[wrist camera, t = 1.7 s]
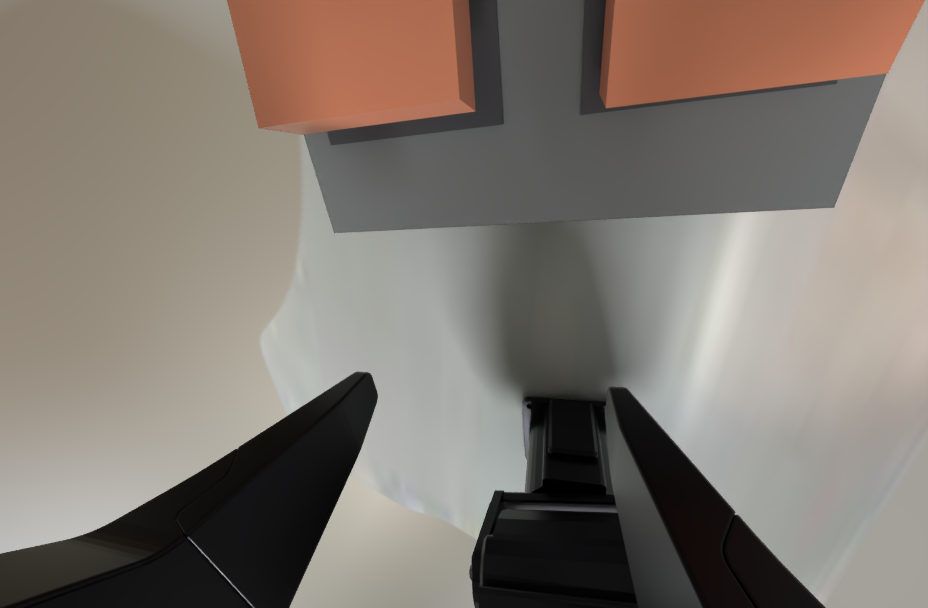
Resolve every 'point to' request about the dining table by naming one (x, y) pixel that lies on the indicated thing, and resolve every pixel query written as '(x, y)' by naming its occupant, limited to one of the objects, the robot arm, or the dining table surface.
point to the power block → (586, 140)
